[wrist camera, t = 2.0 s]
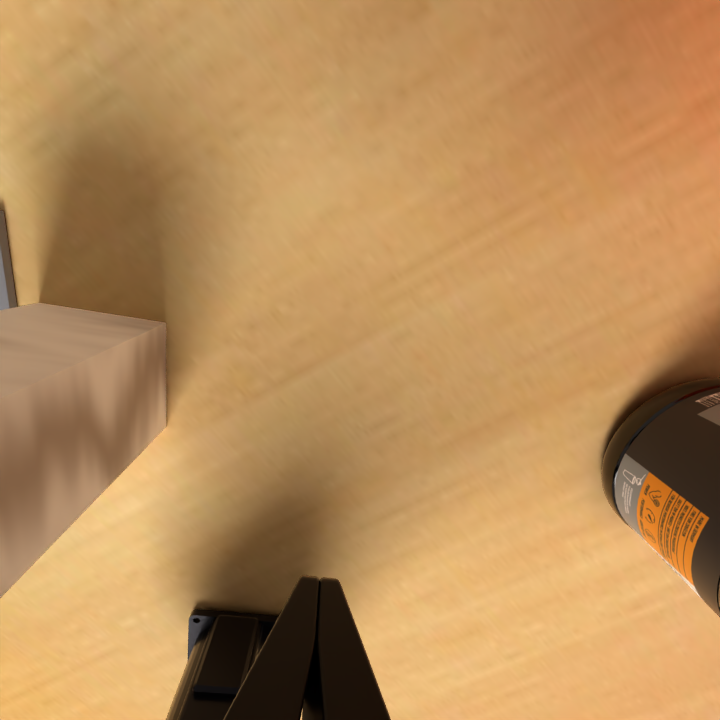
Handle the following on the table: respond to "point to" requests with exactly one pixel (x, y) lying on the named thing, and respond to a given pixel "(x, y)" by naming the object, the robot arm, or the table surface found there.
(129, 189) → the table surface
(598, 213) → the table surface
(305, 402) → the table surface
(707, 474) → the supplement container
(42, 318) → the cream block
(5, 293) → the mat
